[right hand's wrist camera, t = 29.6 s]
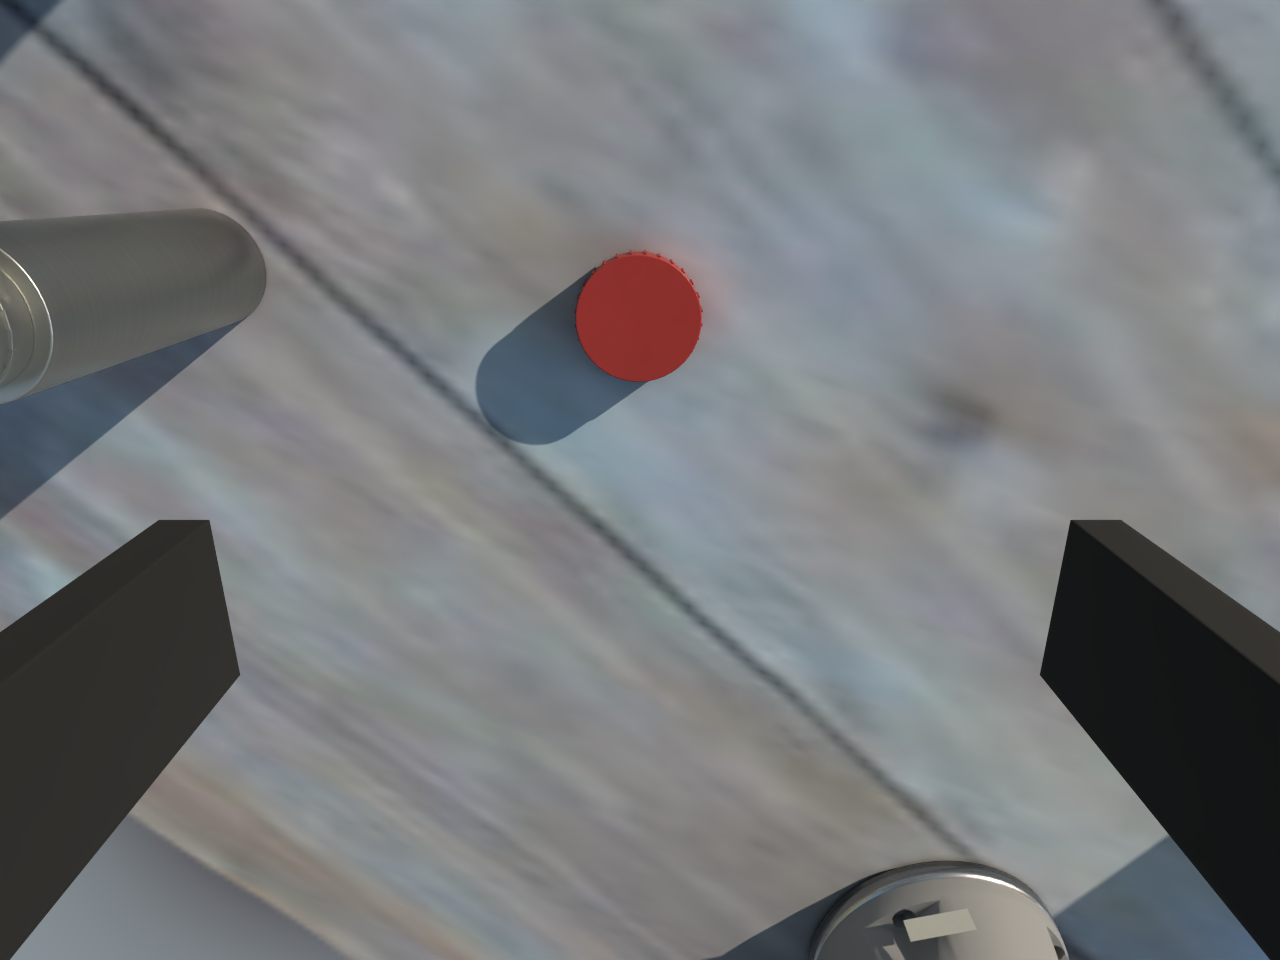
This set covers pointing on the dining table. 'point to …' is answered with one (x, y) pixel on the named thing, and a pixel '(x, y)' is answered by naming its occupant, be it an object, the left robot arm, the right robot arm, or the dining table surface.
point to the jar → (116, 290)
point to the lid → (638, 316)
